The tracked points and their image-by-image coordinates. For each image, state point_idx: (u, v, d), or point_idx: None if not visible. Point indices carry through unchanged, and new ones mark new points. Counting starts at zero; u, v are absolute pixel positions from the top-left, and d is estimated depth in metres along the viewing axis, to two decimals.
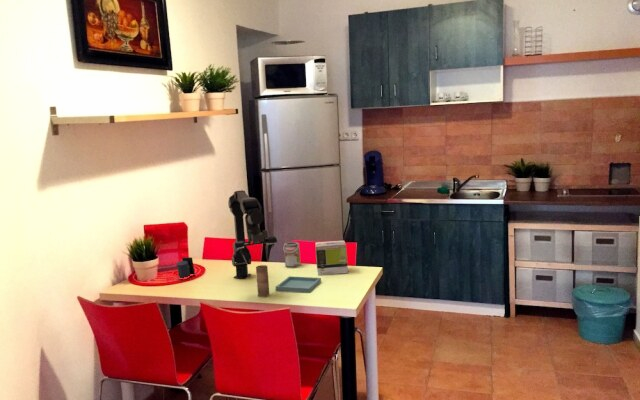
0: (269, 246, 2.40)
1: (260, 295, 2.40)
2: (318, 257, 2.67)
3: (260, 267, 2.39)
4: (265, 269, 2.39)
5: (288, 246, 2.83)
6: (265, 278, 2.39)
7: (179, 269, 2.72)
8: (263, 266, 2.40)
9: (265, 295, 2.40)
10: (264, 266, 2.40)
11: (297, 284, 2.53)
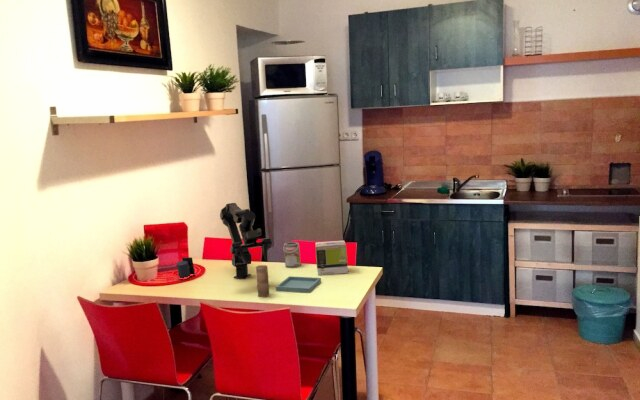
0: (265, 245, 2.51)
1: (260, 295, 2.40)
2: (318, 257, 2.67)
3: (260, 267, 2.39)
4: (265, 269, 2.39)
5: (288, 246, 2.83)
6: (265, 278, 2.39)
7: (179, 269, 2.72)
8: (263, 266, 2.40)
9: (265, 295, 2.40)
10: (264, 266, 2.40)
11: (297, 284, 2.53)
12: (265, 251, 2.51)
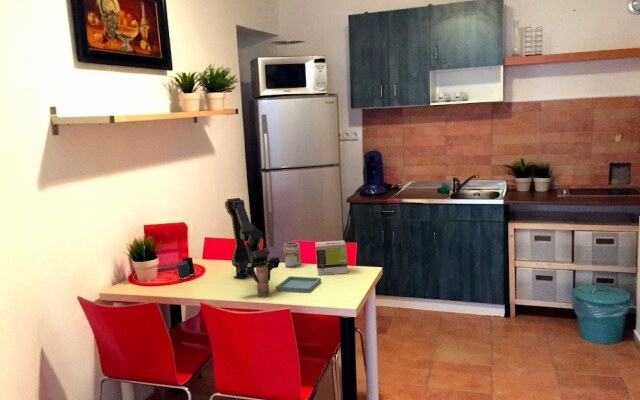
0: (268, 265, 2.43)
1: (260, 295, 2.40)
2: (318, 257, 2.67)
3: (260, 267, 2.39)
4: (265, 269, 2.39)
5: (288, 246, 2.83)
6: (265, 278, 2.39)
7: (179, 269, 2.72)
8: (263, 266, 2.40)
9: (265, 295, 2.40)
10: (264, 266, 2.40)
11: (297, 284, 2.53)
12: (269, 271, 2.42)
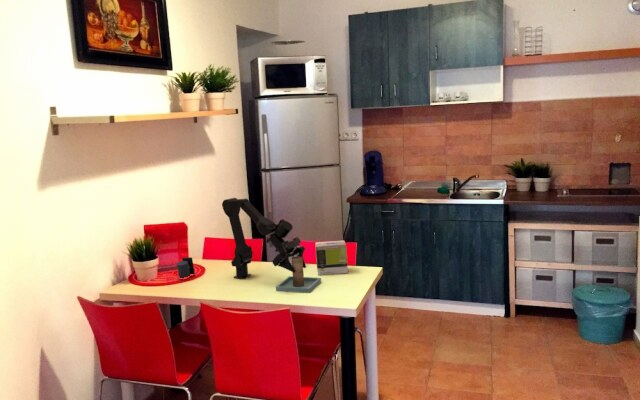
0: (301, 254, 2.55)
1: (298, 285, 2.50)
2: (318, 257, 2.67)
3: (297, 258, 2.49)
4: (302, 259, 2.50)
5: None
6: (302, 268, 2.50)
7: (179, 269, 2.72)
8: (298, 257, 2.50)
9: (302, 284, 2.51)
10: (299, 257, 2.50)
11: None
12: None
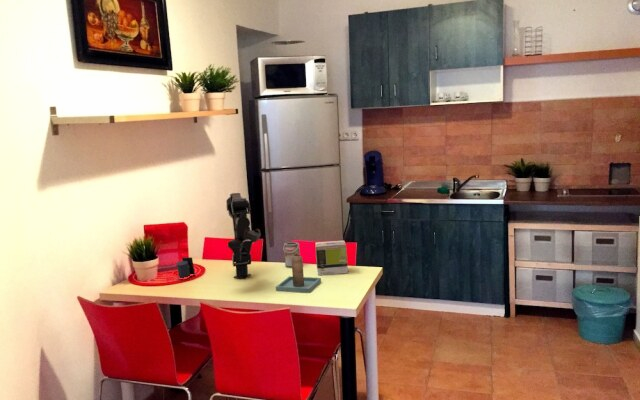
0: (252, 242, 2.60)
1: (298, 285, 2.50)
2: (318, 257, 2.66)
3: (297, 258, 2.49)
4: (302, 259, 2.50)
5: (288, 246, 2.83)
6: (302, 268, 2.50)
7: (179, 269, 2.72)
8: (298, 257, 2.50)
9: (302, 284, 2.51)
10: (299, 257, 2.50)
11: None
12: (250, 247, 2.61)
